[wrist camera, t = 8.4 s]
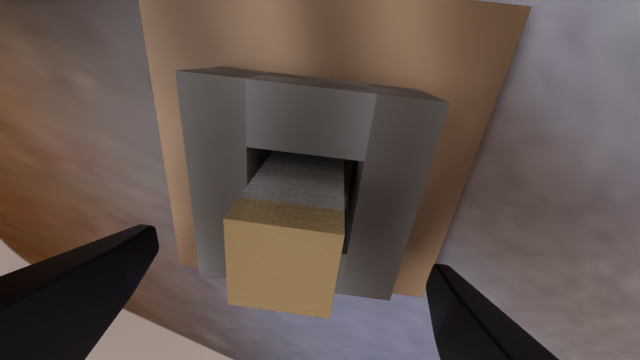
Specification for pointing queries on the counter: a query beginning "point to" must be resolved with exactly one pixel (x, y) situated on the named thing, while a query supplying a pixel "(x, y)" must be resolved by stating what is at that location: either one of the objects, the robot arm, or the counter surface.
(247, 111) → the stand
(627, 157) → the counter surface
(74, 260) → the robot arm
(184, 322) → the counter surface
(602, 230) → the counter surface
